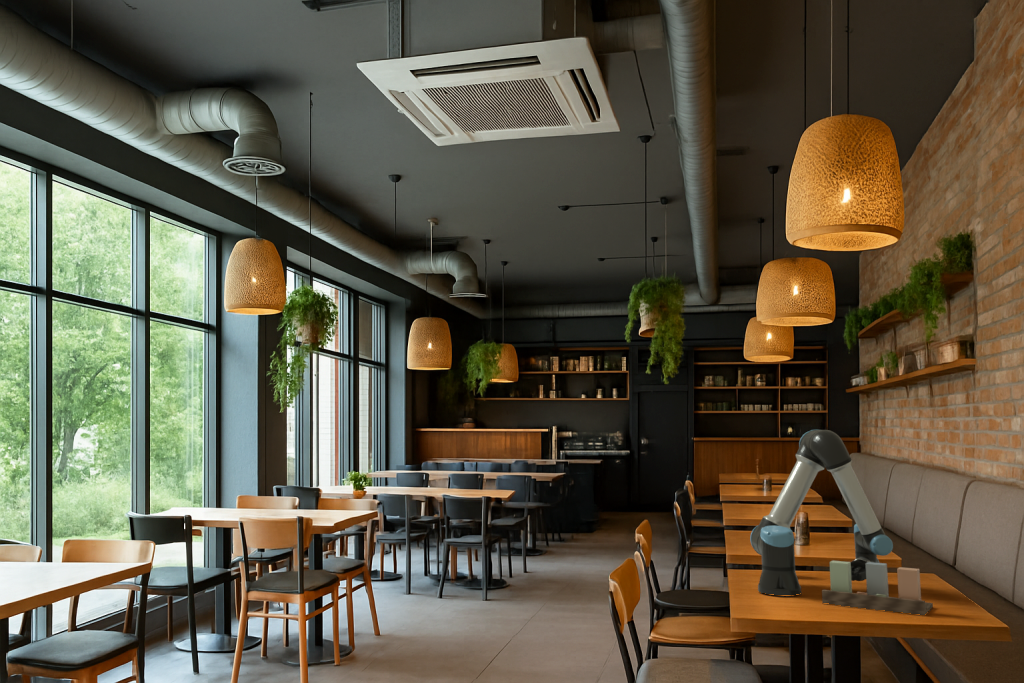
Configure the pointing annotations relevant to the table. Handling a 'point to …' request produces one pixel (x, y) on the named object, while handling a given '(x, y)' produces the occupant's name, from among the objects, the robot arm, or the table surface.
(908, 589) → the terracotta key
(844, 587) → the pale green upright slab
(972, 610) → the table surface
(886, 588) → the blue-grey upright slab
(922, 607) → the keypad console
